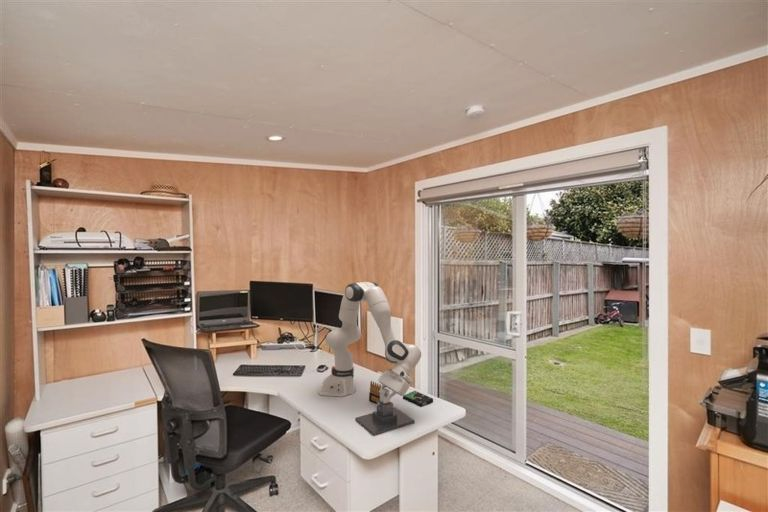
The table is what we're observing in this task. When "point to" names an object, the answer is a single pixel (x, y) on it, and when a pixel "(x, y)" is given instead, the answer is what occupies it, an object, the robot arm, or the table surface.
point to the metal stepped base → (384, 419)
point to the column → (384, 396)
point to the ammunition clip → (374, 392)
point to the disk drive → (418, 398)
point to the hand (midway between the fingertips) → (383, 396)
